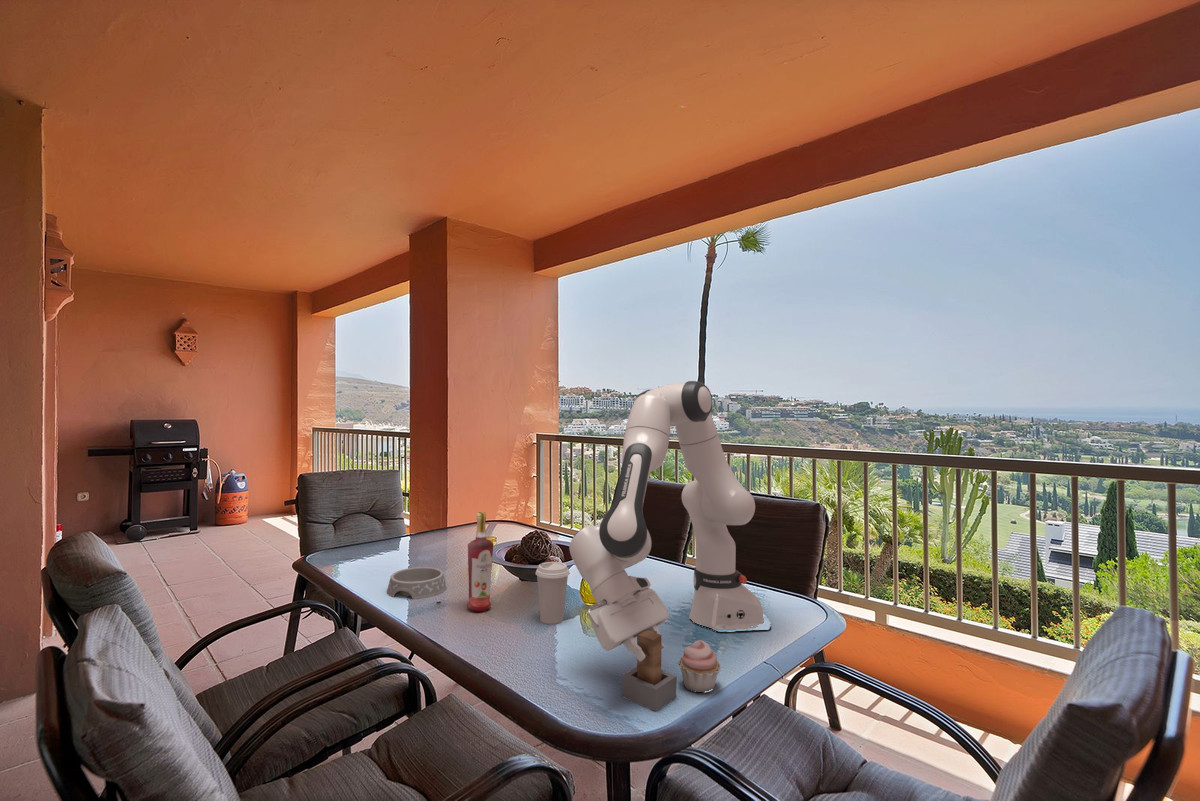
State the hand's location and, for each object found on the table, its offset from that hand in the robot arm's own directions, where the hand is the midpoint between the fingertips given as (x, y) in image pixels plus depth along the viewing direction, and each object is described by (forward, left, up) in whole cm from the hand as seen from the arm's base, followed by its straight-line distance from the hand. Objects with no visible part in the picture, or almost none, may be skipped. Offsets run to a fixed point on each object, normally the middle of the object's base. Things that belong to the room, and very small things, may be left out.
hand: (652, 654), depth 111 cm
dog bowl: (+71, -60, -9) cm, 94 cm away
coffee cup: (+25, -39, -9) cm, 48 cm away
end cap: (0, 0, -9) cm, 9 cm away
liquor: (+47, -45, -9) cm, 66 cm away
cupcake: (-11, -5, -9) cm, 15 cm away
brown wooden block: (0, 0, -8) cm, 8 cm away
